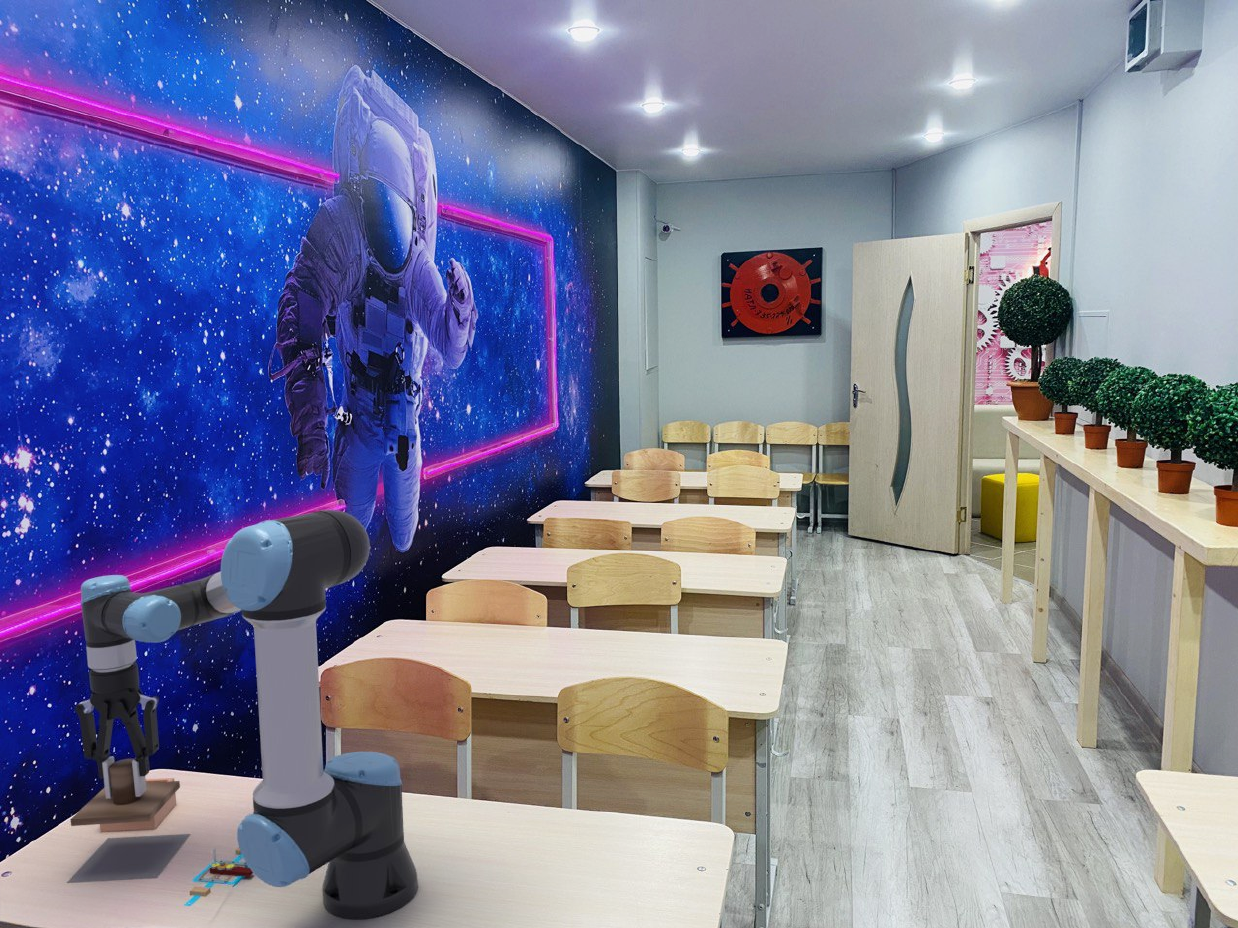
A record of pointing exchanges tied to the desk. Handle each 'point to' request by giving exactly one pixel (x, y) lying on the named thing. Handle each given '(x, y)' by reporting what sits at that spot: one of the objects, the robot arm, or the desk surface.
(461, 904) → the desk surface
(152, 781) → the square bowl
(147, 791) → the walnut lid
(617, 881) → the desk surface
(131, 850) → the rubber mat
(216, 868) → the gear mechanism
